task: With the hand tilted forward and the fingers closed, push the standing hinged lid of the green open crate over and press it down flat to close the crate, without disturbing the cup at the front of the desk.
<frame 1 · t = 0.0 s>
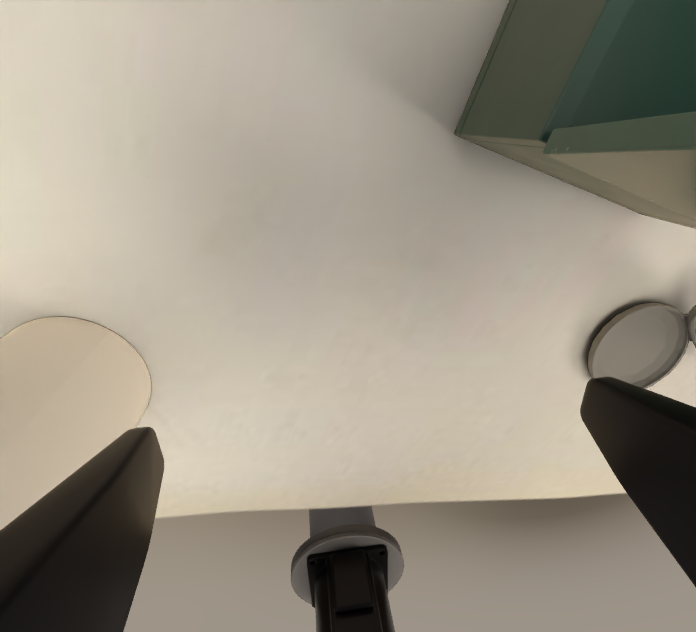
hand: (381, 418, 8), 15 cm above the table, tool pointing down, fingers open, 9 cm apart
pocket watch: (644, 336, 27), on the table
cup: (77, 378, 24), on the table
green open crate: (630, 35, 19), on the table
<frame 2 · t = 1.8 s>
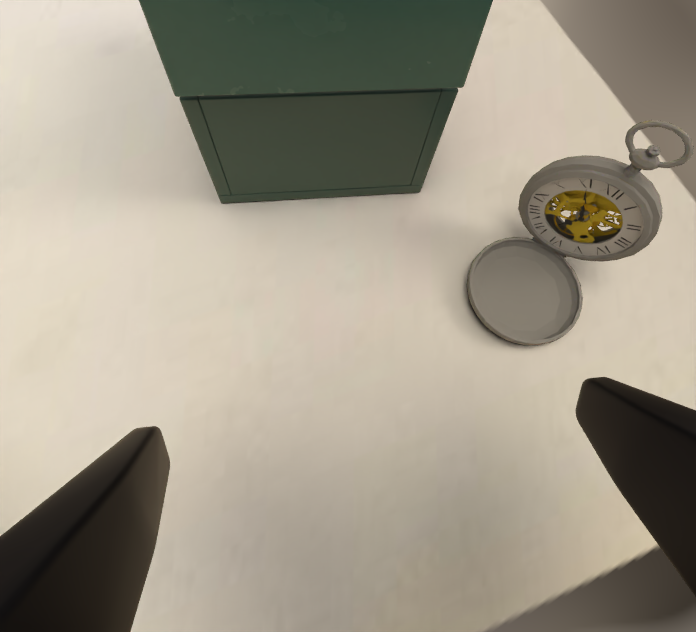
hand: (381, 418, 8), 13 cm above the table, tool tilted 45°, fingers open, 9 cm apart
pocket watch: (527, 282, 25), on the table
green open crate: (314, 113, 28), on the table
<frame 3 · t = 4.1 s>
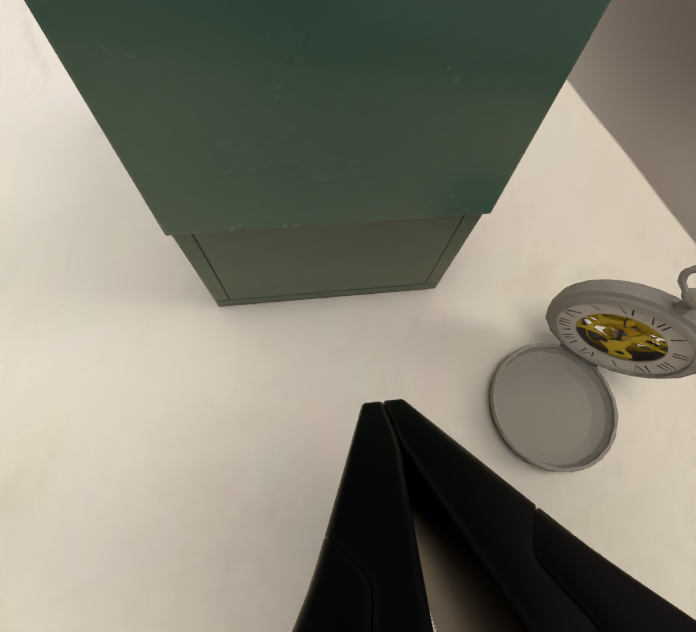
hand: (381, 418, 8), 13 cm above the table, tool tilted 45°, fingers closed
lid: (337, 14, 9), point 15 cm above the table, hinge at 85.0°
pocket watch: (554, 390, 23), on the table
green open crate: (318, 198, 26), on the table
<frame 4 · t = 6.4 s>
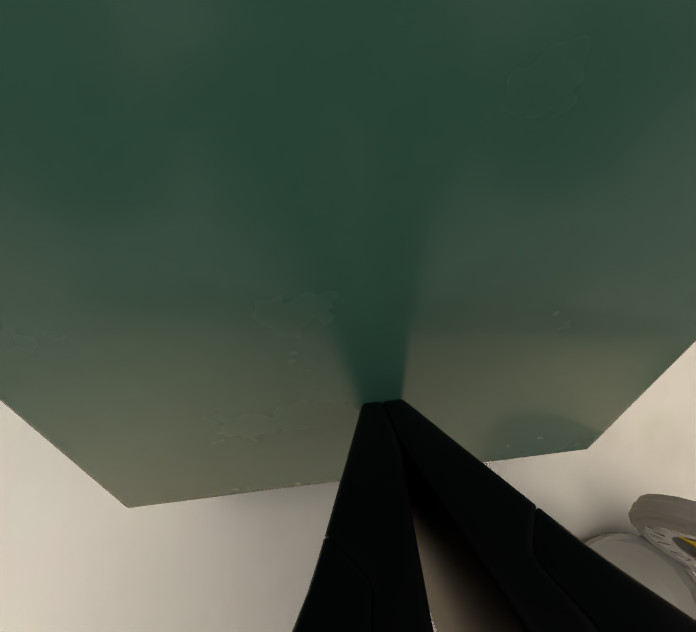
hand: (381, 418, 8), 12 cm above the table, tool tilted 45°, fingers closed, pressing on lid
lid: (388, 260, 6), point 15 cm above the table, hinge at 67.3°, touching gripper
pocket watch: (634, 591, 18), on the table
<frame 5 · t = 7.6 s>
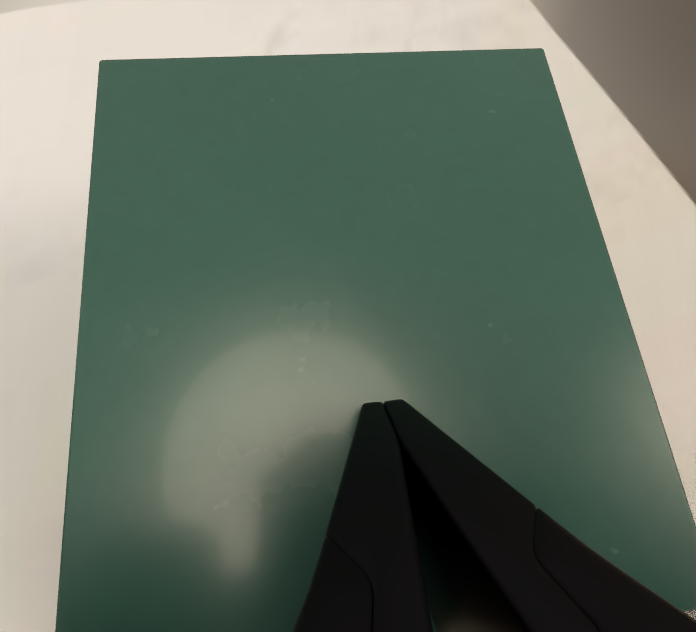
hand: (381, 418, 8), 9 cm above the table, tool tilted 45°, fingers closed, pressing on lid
lid: (362, 297, 10), point 9 cm above the table, hinge at 2.8°, touching gripper
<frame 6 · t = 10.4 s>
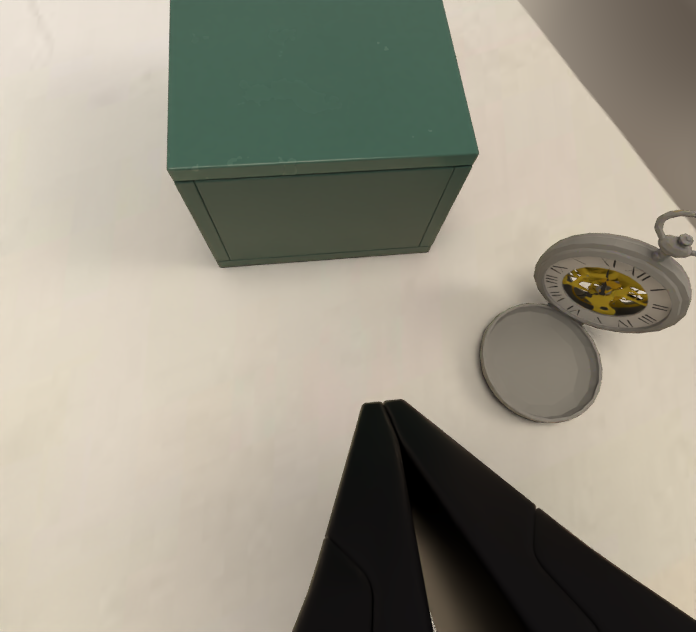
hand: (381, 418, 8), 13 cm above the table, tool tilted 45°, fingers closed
lid: (313, 34, 19), point 9 cm above the table, hinge at 2.2°
pocket watch: (542, 349, 24), on the table
green open crate: (316, 166, 27), on the table
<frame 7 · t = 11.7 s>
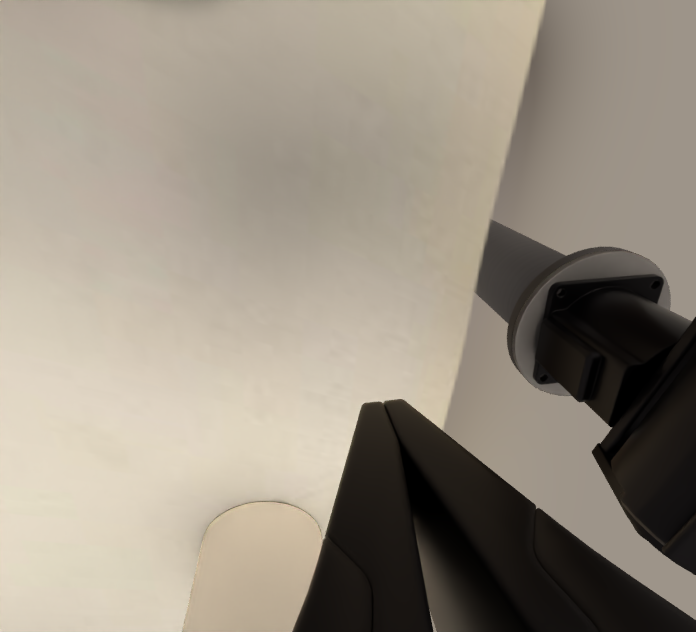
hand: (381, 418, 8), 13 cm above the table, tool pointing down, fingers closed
cup: (263, 540, 29), on the table
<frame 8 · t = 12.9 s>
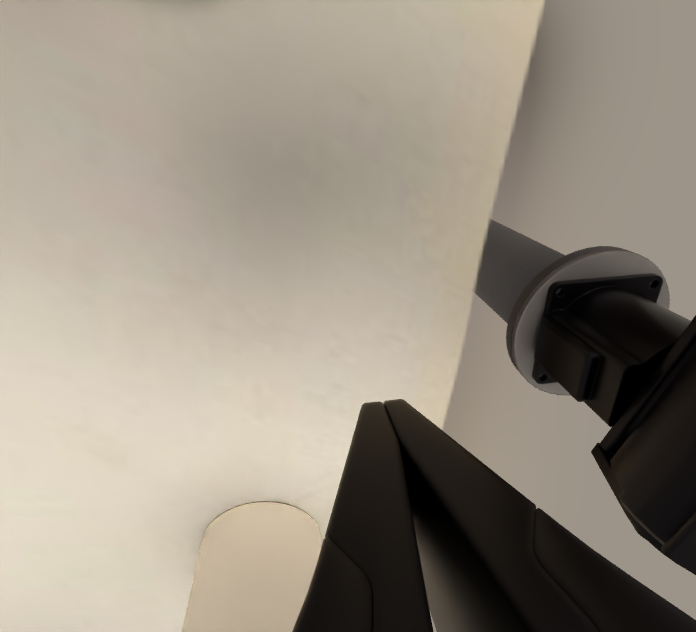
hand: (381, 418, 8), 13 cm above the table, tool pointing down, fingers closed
cup: (262, 540, 29), on the table
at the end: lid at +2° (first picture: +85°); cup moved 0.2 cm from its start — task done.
